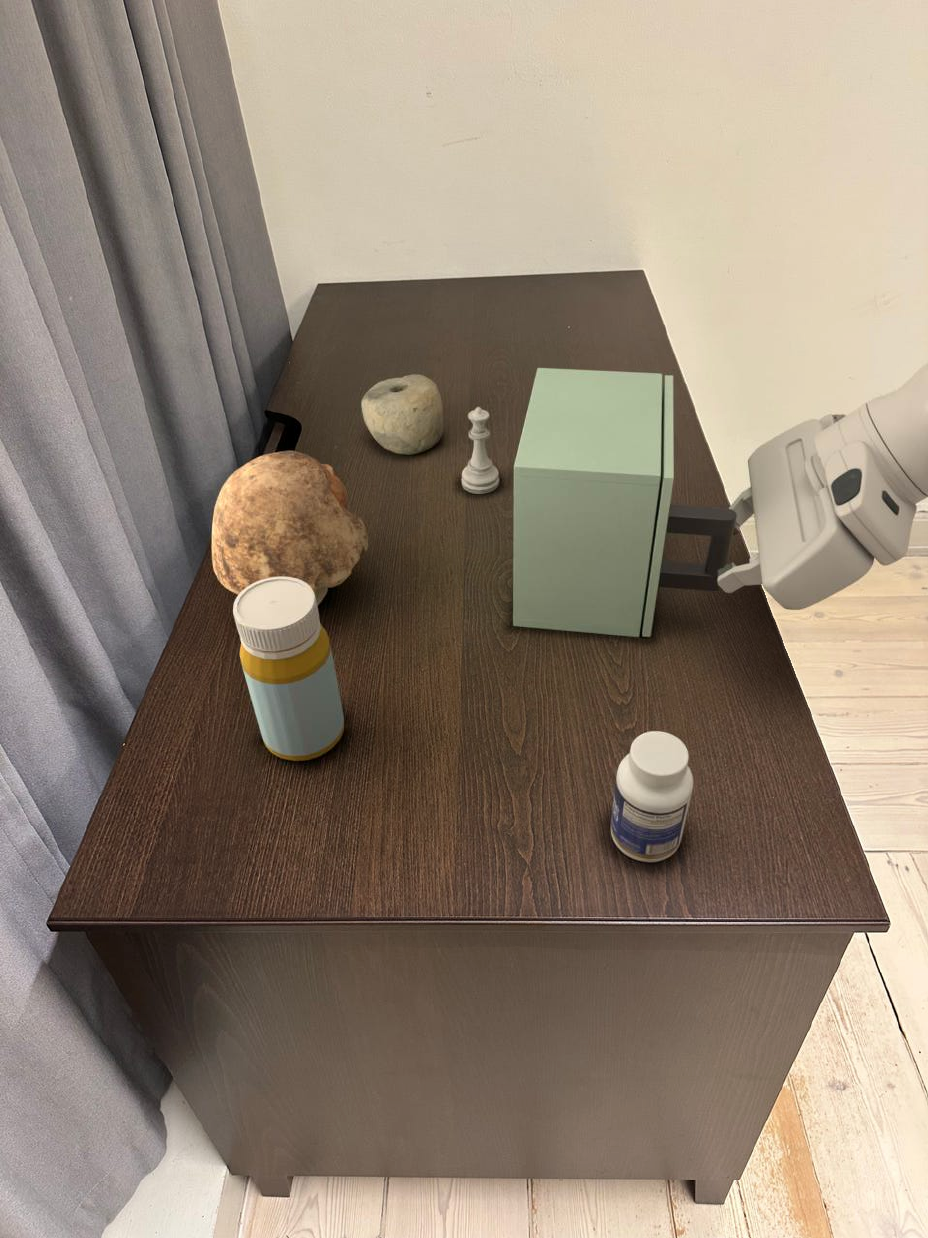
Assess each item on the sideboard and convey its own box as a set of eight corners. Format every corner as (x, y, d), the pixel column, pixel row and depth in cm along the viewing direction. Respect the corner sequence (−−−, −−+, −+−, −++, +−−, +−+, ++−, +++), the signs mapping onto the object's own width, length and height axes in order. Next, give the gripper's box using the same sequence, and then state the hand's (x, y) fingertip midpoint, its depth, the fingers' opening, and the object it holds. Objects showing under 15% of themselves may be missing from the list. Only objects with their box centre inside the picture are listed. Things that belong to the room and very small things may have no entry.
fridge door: (708, 529, 96) (736, 378, 84) (714, 643, 83) (749, 482, 71) (645, 525, 97) (664, 374, 85) (641, 636, 84) (663, 477, 72)
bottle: (355, 750, 75) (331, 618, 65) (273, 776, 73) (236, 644, 63) (333, 694, 80) (308, 563, 70) (256, 717, 78) (219, 586, 68)
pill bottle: (623, 795, 70) (635, 713, 64) (689, 820, 68) (708, 738, 62) (599, 848, 67) (608, 766, 60) (668, 876, 65) (685, 795, 58)
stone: (466, 393, 112) (435, 365, 103) (442, 471, 113) (410, 450, 104) (398, 378, 116) (363, 351, 107) (375, 454, 116) (338, 433, 107)
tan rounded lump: (406, 575, 92) (394, 449, 82) (307, 667, 82) (279, 537, 72) (296, 531, 98) (272, 409, 88) (192, 612, 89) (152, 485, 79)
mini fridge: (643, 525, 97) (662, 373, 85) (639, 637, 84) (660, 475, 72) (534, 518, 99) (537, 367, 87) (513, 626, 86) (513, 466, 74)
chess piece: (455, 489, 103) (451, 412, 97) (472, 470, 106) (469, 394, 100) (488, 498, 102) (487, 420, 95) (505, 479, 105) (505, 402, 98)
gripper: (824, 381, 77) (694, 470, 85) (861, 517, 63) (700, 609, 71) (864, 429, 80) (734, 511, 88) (909, 571, 65) (747, 654, 73)
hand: (719, 556), depth 79 cm, fingers open, 6 cm apart
